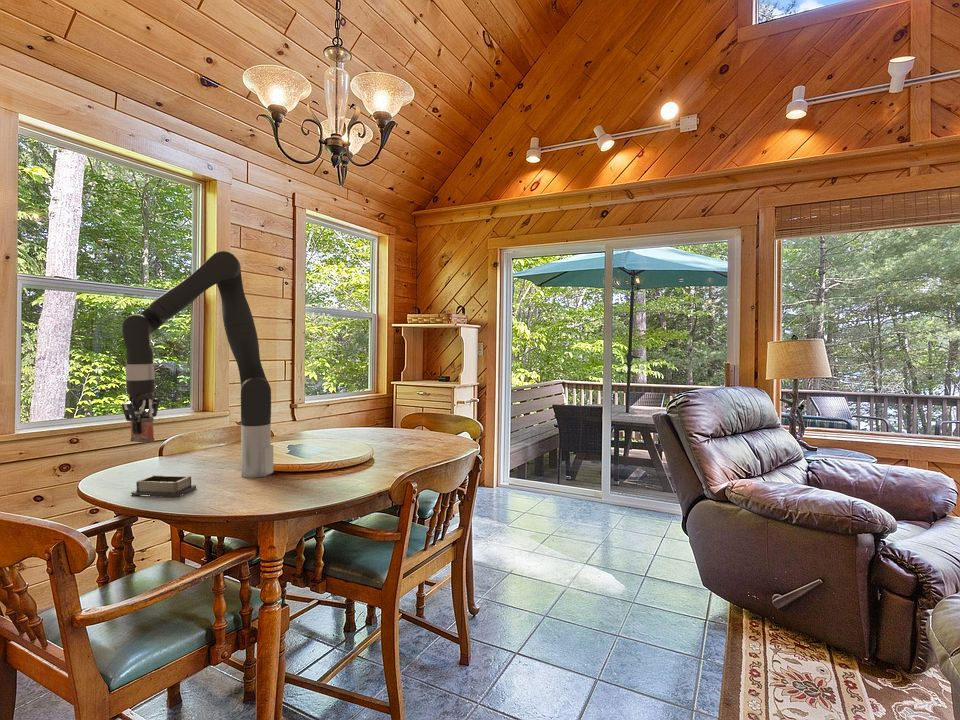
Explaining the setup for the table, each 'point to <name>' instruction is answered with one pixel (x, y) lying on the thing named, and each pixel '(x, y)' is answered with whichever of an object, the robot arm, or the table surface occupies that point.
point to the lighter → (144, 429)
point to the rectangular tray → (164, 486)
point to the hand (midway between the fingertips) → (142, 432)
